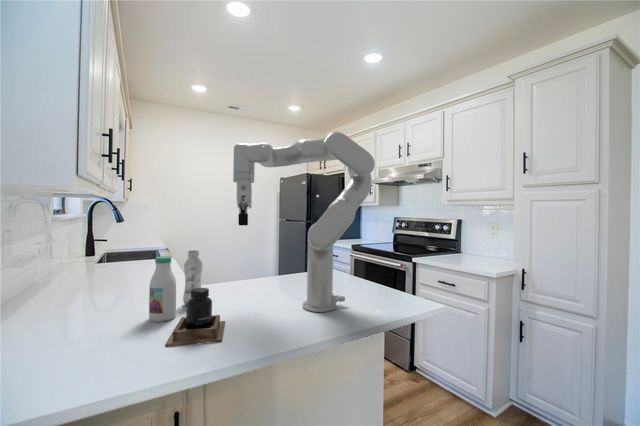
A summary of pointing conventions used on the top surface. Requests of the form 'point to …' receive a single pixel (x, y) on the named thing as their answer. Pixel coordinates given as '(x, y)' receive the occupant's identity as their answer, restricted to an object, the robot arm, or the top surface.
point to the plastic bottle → (192, 274)
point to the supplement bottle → (199, 309)
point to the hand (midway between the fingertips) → (243, 224)
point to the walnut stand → (196, 333)
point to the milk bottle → (162, 291)
